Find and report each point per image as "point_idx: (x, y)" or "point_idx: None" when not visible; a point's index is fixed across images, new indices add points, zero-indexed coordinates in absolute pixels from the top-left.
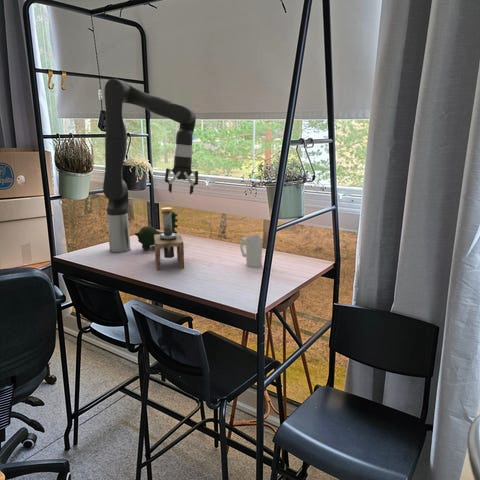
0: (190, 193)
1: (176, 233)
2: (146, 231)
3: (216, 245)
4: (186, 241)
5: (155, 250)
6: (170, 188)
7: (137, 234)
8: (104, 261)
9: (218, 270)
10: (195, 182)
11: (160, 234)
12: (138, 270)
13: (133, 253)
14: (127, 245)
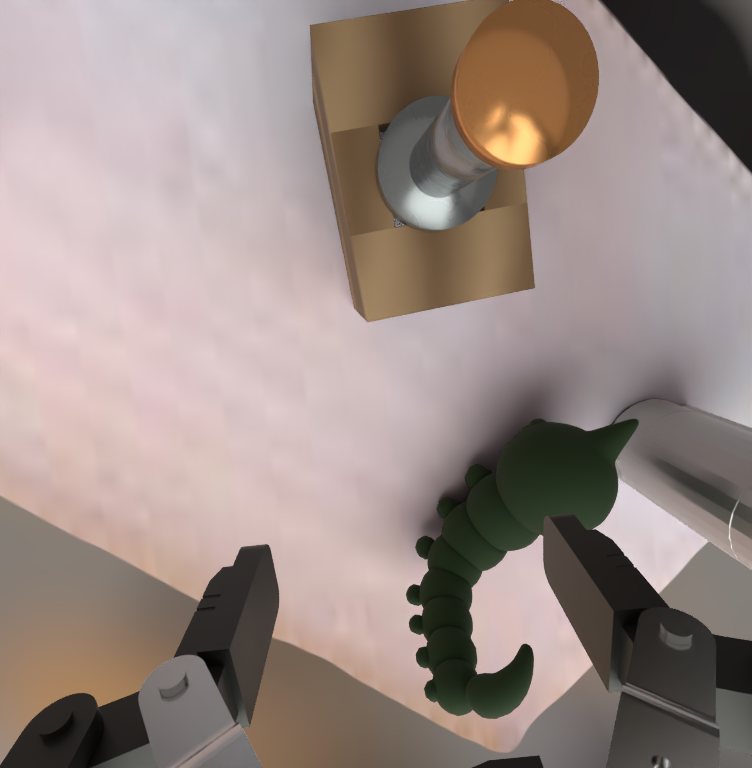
0: (253, 548)
1: (389, 311)
2: (579, 454)
3: (190, 514)
4: (355, 578)
5: None
6: (596, 551)
7: (621, 424)
8: (701, 257)
9: (116, 44)
10: (75, 743)
11: (494, 178)
12: None
13: (585, 381)
14: None
